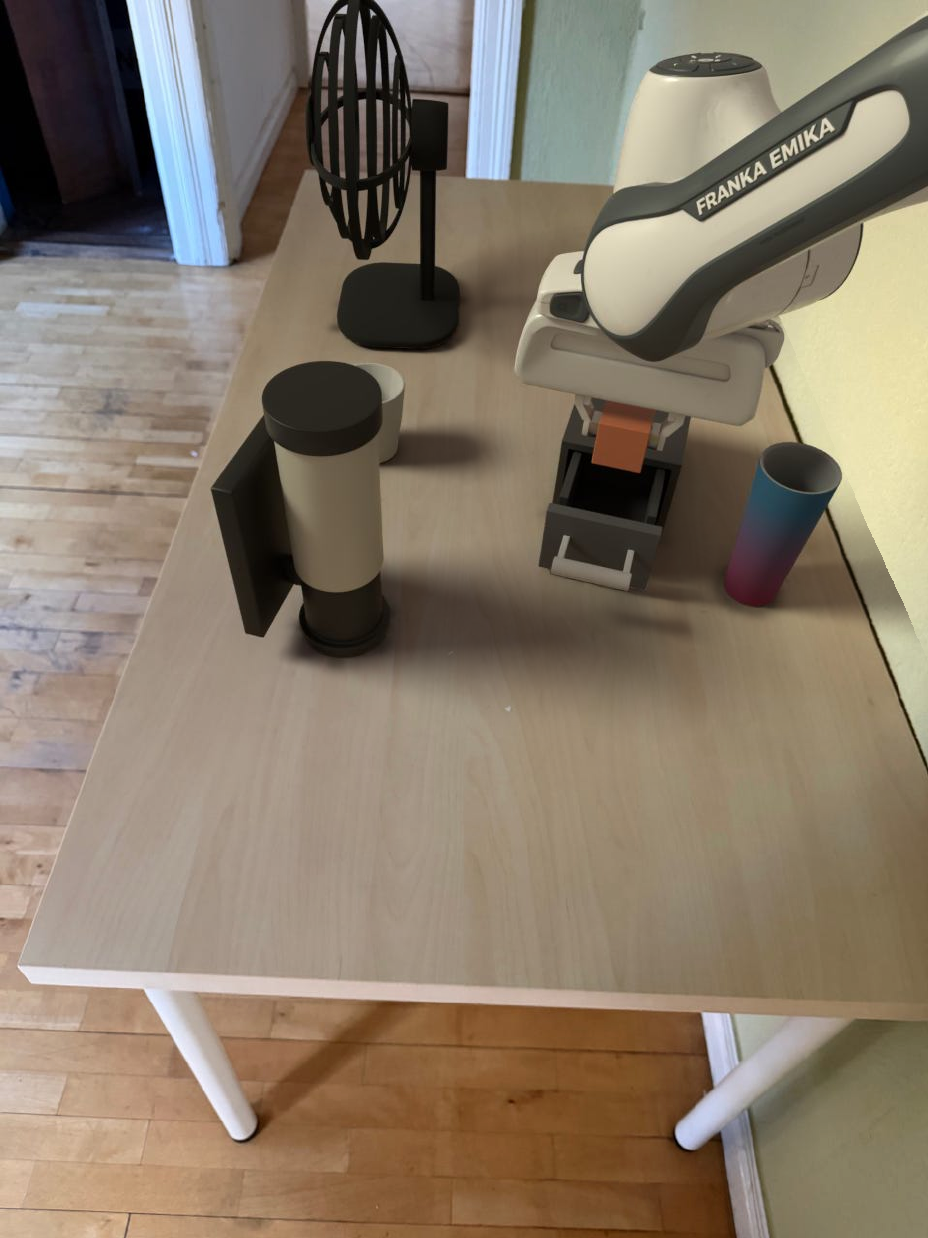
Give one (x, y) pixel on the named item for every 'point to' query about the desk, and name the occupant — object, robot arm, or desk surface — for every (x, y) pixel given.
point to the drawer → (604, 524)
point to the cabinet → (664, 459)
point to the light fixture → (310, 508)
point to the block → (623, 436)
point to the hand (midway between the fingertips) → (622, 439)
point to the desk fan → (382, 292)
